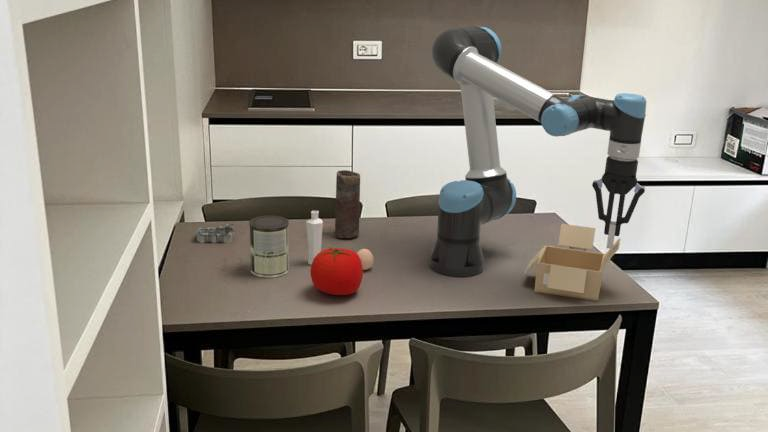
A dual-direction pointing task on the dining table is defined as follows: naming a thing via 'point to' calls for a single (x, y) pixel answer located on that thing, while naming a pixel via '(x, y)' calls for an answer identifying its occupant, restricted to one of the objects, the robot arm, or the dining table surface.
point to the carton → (574, 260)
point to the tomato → (337, 271)
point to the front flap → (567, 278)
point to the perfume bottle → (314, 235)
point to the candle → (347, 204)
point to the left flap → (533, 261)
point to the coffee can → (269, 246)
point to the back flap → (576, 236)
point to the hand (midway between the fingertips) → (609, 246)
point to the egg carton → (216, 234)
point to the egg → (365, 258)
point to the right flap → (611, 252)
